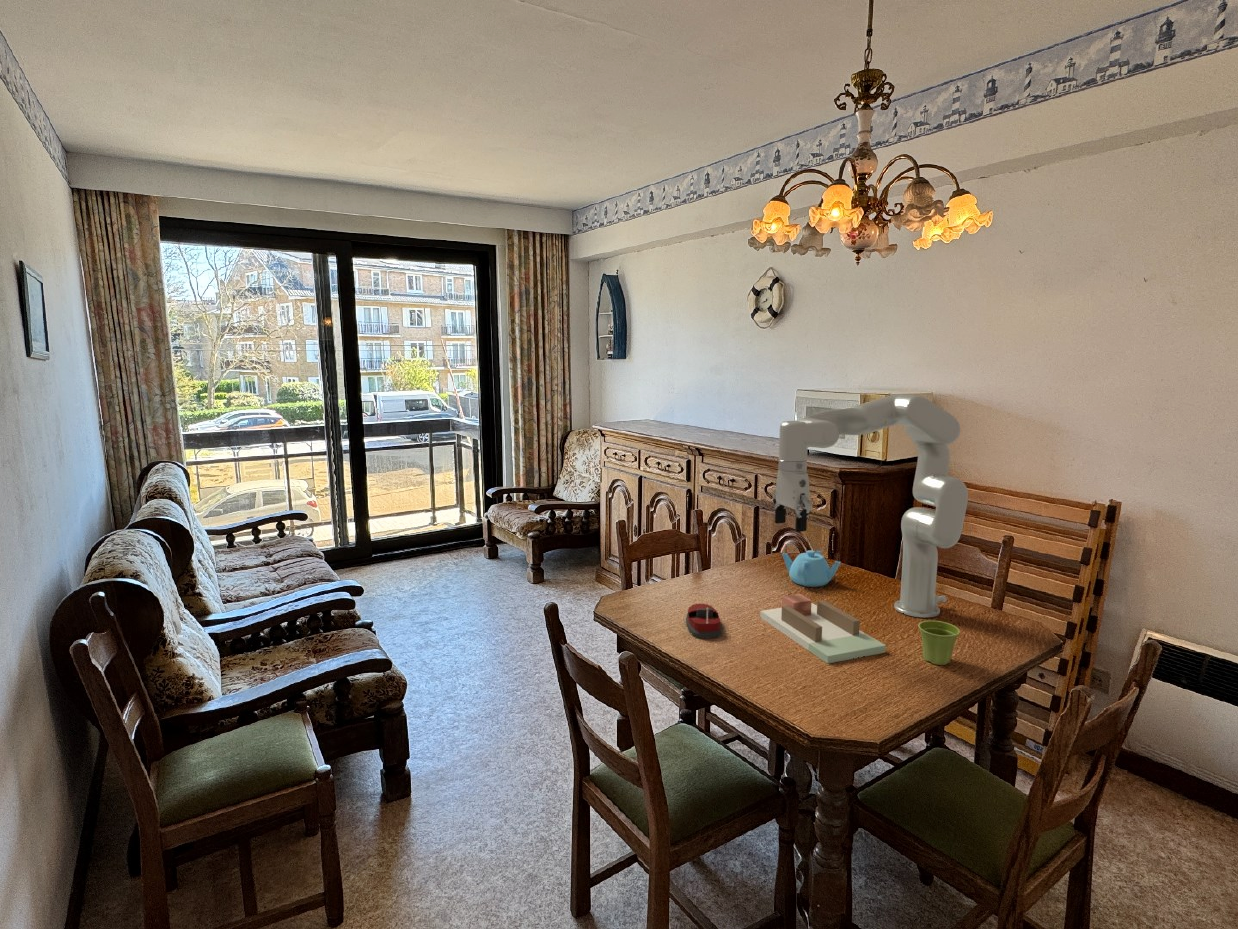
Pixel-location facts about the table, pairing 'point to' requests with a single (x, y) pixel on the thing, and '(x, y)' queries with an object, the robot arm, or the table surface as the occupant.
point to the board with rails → (824, 632)
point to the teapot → (810, 569)
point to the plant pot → (938, 641)
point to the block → (798, 603)
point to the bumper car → (703, 621)
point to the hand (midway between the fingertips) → (790, 527)
